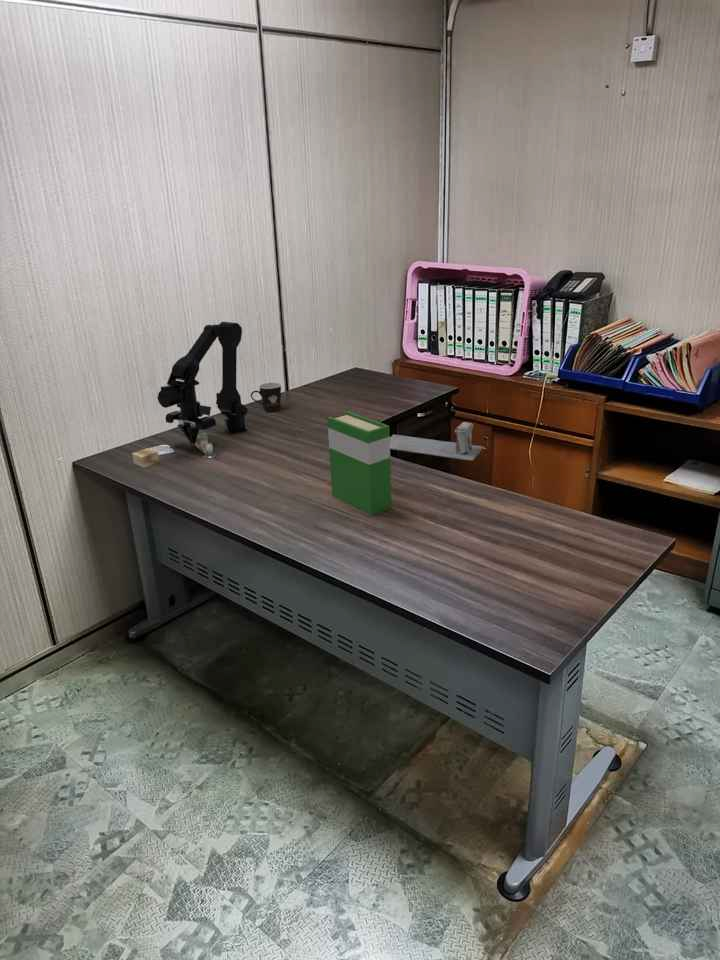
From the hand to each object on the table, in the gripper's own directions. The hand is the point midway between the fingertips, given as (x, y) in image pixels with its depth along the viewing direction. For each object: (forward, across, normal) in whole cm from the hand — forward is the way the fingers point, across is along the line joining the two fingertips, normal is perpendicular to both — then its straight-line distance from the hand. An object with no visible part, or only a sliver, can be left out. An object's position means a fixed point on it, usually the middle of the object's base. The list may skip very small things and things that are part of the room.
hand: (193, 443), depth 241 cm
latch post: (+2, 0, -5) cm, 6 cm away
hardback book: (+3, -74, +7) cm, 74 cm away
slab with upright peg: (+2, -72, -39) cm, 82 cm away
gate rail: (+2, -3, -1) cm, 4 cm away
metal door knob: (+2, -9, +2) cm, 10 cm away
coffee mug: (+1, +5, -46) cm, 46 cm away
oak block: (+3, +6, +16) cm, 17 cm away
